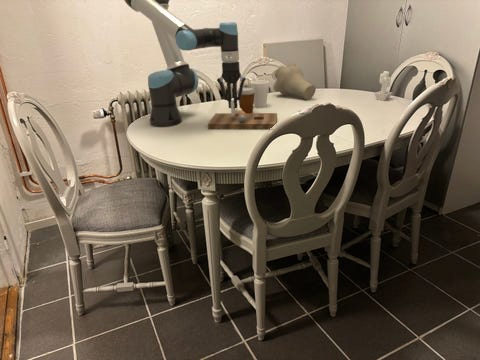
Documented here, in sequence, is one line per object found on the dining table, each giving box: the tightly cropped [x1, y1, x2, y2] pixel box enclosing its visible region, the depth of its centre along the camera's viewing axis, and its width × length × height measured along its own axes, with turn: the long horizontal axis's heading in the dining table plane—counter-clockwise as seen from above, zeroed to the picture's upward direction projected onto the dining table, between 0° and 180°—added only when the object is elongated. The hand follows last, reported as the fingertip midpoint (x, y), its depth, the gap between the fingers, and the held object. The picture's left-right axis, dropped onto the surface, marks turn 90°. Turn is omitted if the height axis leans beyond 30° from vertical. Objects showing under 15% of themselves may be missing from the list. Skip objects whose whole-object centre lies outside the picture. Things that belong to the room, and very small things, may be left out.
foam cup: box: [250, 79, 270, 109], centre depth 189 cm, size 10×9×13 cm
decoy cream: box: [235, 107, 242, 115], centre depth 167 cm, size 3×3×3 cm
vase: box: [272, 62, 317, 101], centre depth 204 cm, size 22×22×28 cm
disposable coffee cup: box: [237, 86, 256, 113], centre depth 179 cm, size 10×10×12 cm
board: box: [207, 112, 278, 130], centre depth 163 cm, size 30×18×2 cm, turn 83°
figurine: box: [373, 70, 394, 101], centre depth 192 cm, size 7×9×15 cm
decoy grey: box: [238, 114, 246, 122], centre depth 156 cm, size 3×3×3 cm
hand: (233, 115), depth 162 cm, fingers closed
